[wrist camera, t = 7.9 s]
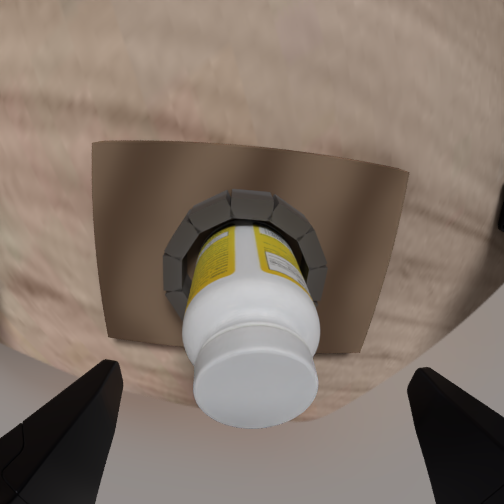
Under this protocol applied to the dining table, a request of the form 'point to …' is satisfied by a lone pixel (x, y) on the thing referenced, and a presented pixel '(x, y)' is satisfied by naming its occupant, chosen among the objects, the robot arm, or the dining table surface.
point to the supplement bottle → (250, 328)
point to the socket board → (237, 208)
